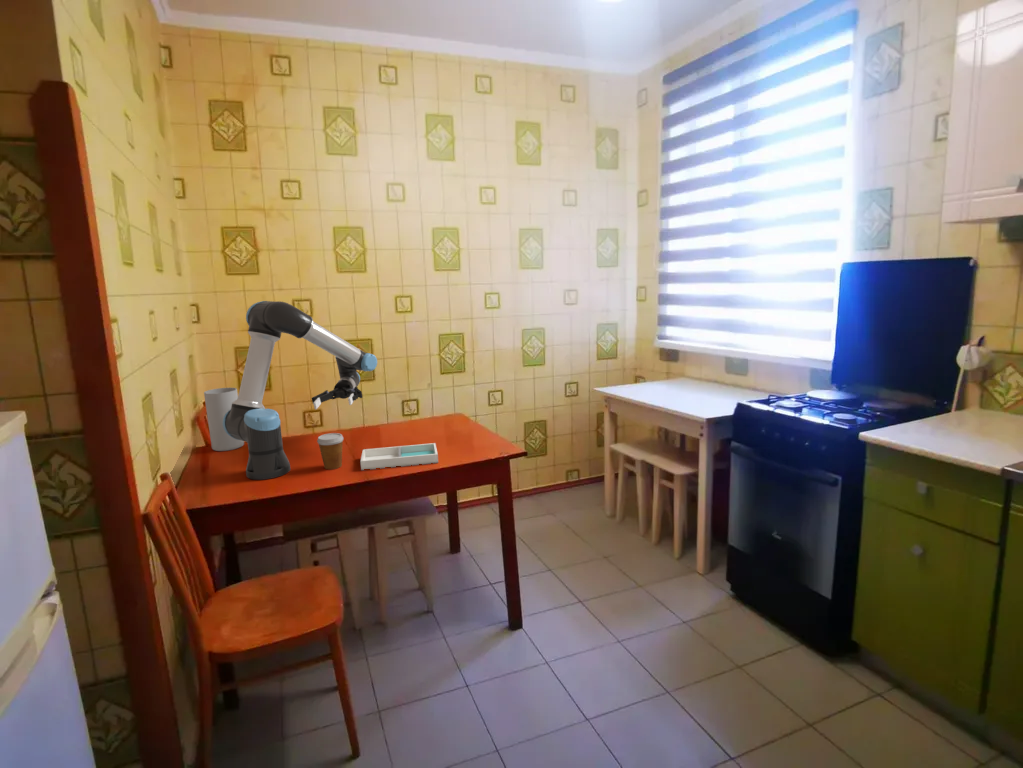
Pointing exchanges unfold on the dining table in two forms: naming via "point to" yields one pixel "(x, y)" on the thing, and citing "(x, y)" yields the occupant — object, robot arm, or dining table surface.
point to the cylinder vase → (220, 417)
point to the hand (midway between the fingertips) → (332, 403)
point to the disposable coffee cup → (331, 450)
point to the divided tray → (399, 456)
